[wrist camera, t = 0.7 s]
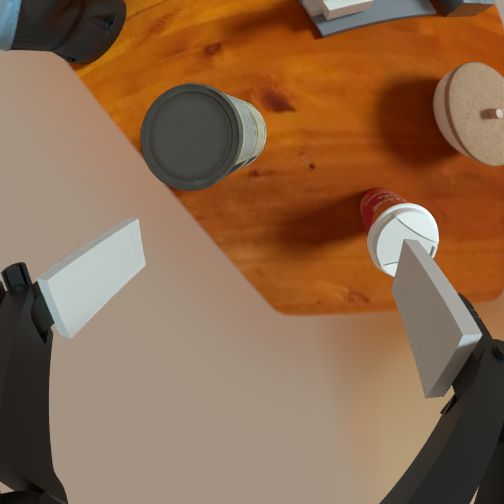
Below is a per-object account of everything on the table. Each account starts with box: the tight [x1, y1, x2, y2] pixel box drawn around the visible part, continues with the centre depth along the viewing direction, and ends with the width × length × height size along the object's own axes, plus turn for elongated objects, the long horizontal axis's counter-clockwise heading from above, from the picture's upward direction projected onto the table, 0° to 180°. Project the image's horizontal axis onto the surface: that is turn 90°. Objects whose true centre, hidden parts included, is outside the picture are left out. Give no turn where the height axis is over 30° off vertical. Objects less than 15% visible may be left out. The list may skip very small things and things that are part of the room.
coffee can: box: [140, 83, 266, 191], centre depth 29 cm, size 10×10×14 cm
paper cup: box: [360, 188, 439, 277], centre depth 29 cm, size 8×8×14 cm
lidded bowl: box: [433, 62, 504, 166], centre depth 22 cm, size 13×13×11 cm
